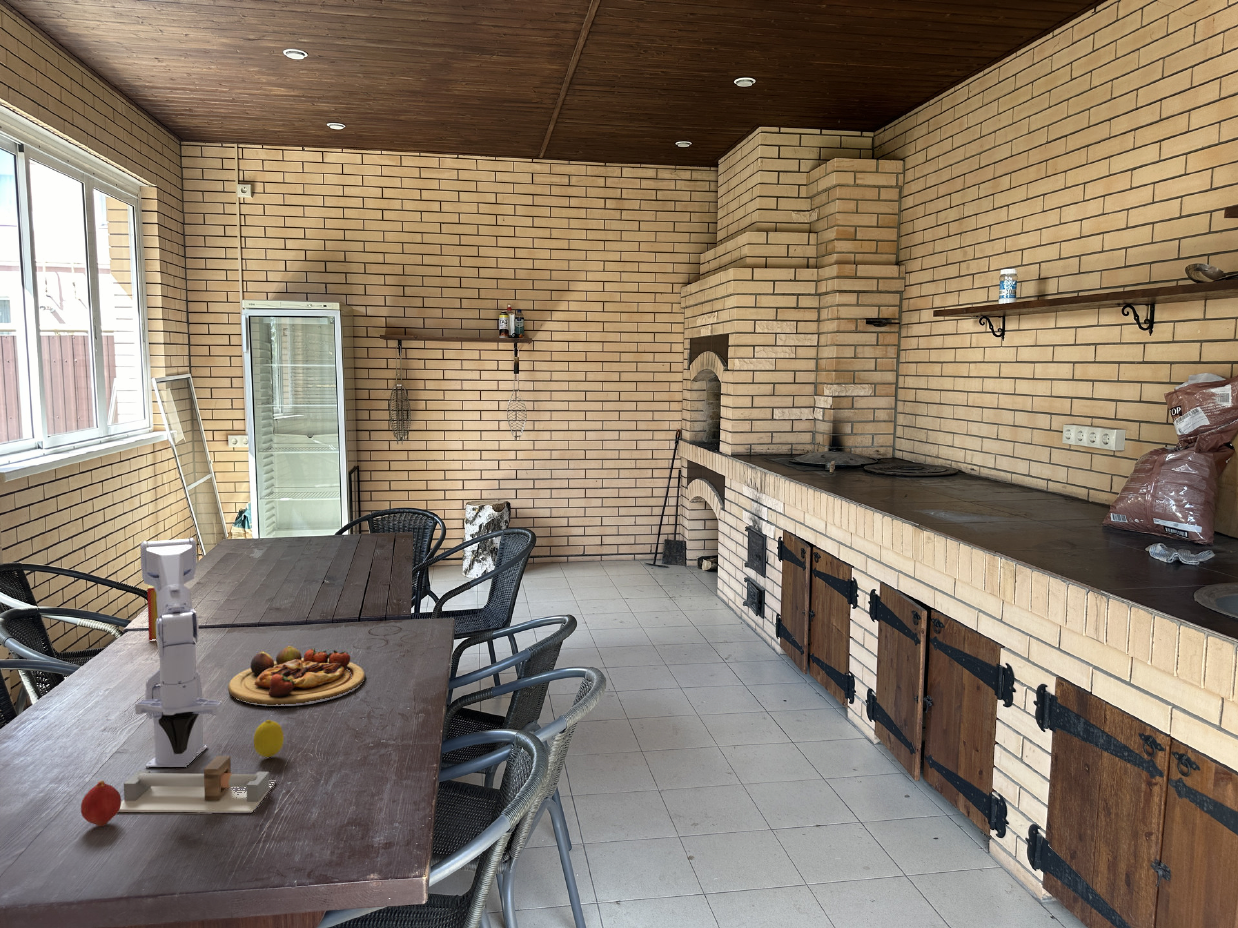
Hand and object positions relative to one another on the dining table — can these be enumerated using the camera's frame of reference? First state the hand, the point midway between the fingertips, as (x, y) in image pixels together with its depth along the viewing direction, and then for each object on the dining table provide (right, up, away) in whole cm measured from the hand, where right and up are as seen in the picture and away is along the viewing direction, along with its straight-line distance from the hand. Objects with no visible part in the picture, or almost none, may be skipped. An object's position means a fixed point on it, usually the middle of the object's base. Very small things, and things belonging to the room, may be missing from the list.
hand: (180, 751), depth 149 cm
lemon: (+9, -8, +17) cm, 21 cm away
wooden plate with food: (-1, -4, +58) cm, 58 cm away
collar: (+6, -9, +1) cm, 11 cm away
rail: (+3, -9, +1) cm, 9 cm away
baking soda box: (-54, +1, +93) cm, 107 cm away
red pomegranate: (-8, -10, -9) cm, 16 cm away
